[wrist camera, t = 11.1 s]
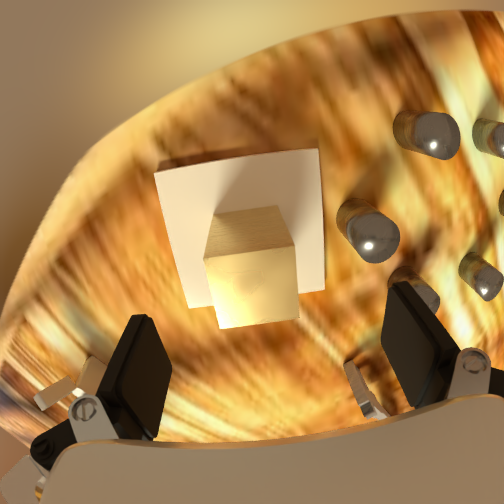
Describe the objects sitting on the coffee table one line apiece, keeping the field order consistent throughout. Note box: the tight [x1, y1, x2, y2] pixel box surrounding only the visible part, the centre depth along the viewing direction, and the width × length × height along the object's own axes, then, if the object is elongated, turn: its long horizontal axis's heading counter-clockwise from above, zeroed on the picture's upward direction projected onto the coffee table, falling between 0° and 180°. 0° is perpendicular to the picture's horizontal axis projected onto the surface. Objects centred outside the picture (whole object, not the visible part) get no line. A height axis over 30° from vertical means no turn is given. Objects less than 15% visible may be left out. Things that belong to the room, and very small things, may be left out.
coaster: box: [154, 148, 325, 308], centre depth 19 cm, size 10×10×1 cm
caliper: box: [343, 360, 391, 420], centre depth 27 cm, size 20×1×6 cm, turn 35°
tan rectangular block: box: [203, 205, 300, 329], centre depth 16 cm, size 4×4×6 cm
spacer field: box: [336, 110, 504, 315], centre depth 17 cm, size 20×15×4 cm
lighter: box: [34, 356, 107, 411], centre depth 21 cm, size 7×2×8 cm, turn 41°
